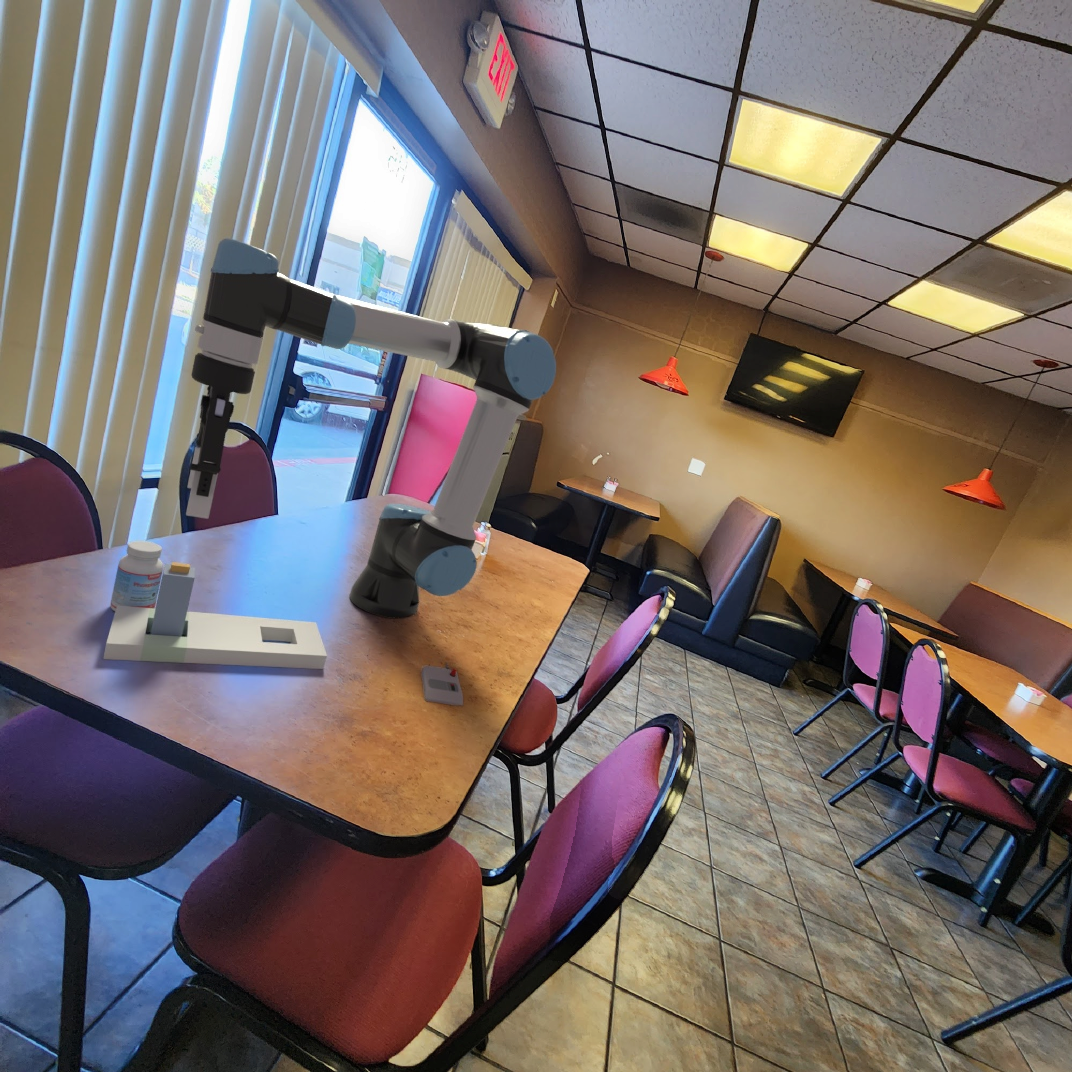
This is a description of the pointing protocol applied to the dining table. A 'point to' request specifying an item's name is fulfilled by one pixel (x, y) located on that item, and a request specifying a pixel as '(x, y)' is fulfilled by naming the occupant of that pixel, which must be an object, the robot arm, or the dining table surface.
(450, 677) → the remote control
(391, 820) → the dining table surface
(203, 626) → the panel
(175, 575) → the plug
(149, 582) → the pill bottle
